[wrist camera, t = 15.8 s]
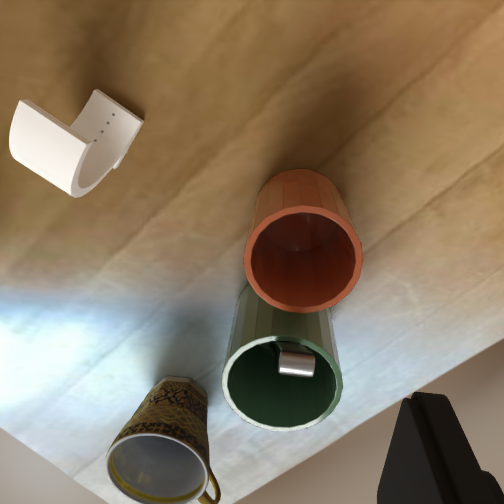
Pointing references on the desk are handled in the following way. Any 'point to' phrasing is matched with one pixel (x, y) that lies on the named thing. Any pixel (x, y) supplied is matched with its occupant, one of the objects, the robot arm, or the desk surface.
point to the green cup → (266, 373)
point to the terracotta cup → (302, 243)
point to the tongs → (292, 359)
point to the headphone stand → (73, 142)
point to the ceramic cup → (165, 447)
